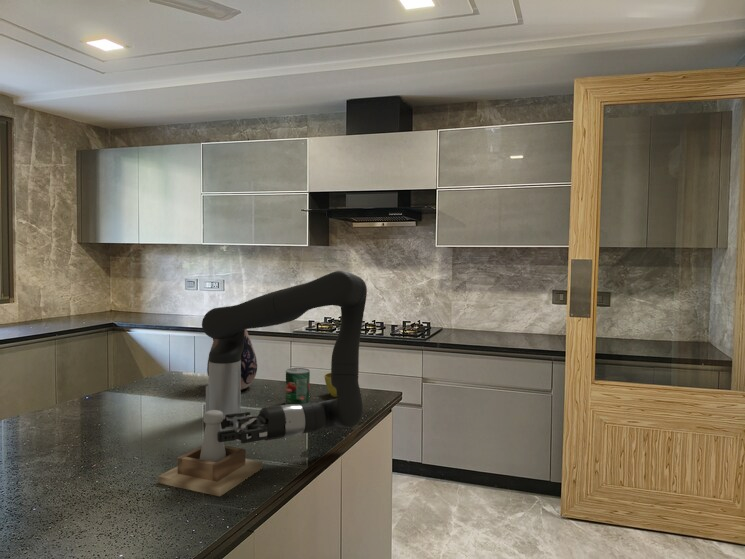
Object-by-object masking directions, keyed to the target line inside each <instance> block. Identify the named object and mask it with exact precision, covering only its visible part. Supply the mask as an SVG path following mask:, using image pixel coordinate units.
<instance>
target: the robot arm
mask: <svg viewBox="0 0 745 559" xmlns="http://www.w3.org/2000/svg"><path fill="white" fill-rule="evenodd" d="M367 289H368V288H367V284H366V281H364V280H363V278H362V277H360V276H358V275H356V274H353V273H351V272H349V271H346V270H336V271H332V272H329V273H327V274H325V275H323V276H320V277H318V278H316V279H314V280H311V281H308V282H306V283H305V282H304V283H301V284H297V285H294V286H291V287H287V288H283V289H278V290H275V291H272V292H269V293H266V294H263V295H260V296H259V295H258V296H257V297H255V298H254V297H253V298H251V299H249V300H246V301H244V302H242V303H238V304H236V305H231V306H221V307H215V308H212V309H210V310H209V311H207V312H206V313H205V315H204V316H203V318H202V320H201V321H202V322H201V327H202V330H203V333H204V334H205V335H206V336H207V337H209V338H210V339H213V338H214V339H219V341H218V343H217V345H216V346H215V347H214V348H213V349H212V350H211V349H210V350H211V351H210V350H209V352H208V353H209V354H208V358H209V376H208V385H206V386H205V412H207V411H210V410H219V411H221V412H222V413H223V421H222V422H221V428H222V431H220V432H218V433H217V440H218V442H224V443H225V442H232V441H236V442H240V443H241V444H248V443H254V442H258V441H273V440H277V439H285V438H290V437H291V438H292V437H295V436H299V435H302V434H303V435H304V434H308V433H309V434H310V433H316V432H319V431H321V430H323V429H328V428H337V427H338V428H348V429H349V428H353V427H356V426H358V425H359V423H360V422H361V420H362V417H363V413H364V412H363V411H364V410H363V409H364V408H363V407H364V405H363V399H362V392H361V387H360V384H359V370H360V369H359V365H360V364H359V363H360V362H359V361H360V358H359V357H360V353H359V352H360V341H361V334H362V333H361V332H362V325H363V321H364V313H365V308H366V307H365V306H366V302H367V295H368V294H367V292H368V291H367ZM328 306H329V307H330V306H335V307H336V306H337V307H340V314H341V322H340V326H339V332H338V335H337V337H336V340H335V343H334V345H333V349H332V354H331V362H330V367H331V368H330V370H331V371H330V373H331V383H332V386H333V387H334V388H336V391H337V397H336V398H335V399H334V398H333V399H329V400H323V401H319V402H309V403H305V404H289V405H286V404H282V405H273V406H267V407H261V409H260V410H259V412H258V413H259V414H258V415H257V416H256V415H255V416H254V415H251V412H249V411H248V412H241V393H242V392H241V391H242V390H241V354H242V352H243V348H244V334H245V329H247V330H248V329H249V330H251V329H258V328H259V329H260V328H265V327H273V326H277V325H282V324H286V323H290V322H292V321H296V320H297V319H299V318H301V317H302V316H303V315H304V314H305V313H307V312H308V311H309V310H314V309H316V308H317V309H318V308H322V307H328ZM226 429H227V430H226Z"/></svg>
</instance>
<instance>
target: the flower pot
mask: <svg viewBox="0 0 745 559" xmlns="http://www.w3.org/2000/svg"><path fill="white" fill-rule="evenodd" d="M323 377H324V381H325V385H326V388H327V390H328V392H329V394H330V395H331V397H335V398H337V391H336V388H334V387H333V386H332V383H331V372H327V373H325V374H324V375H323Z"/></svg>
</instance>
